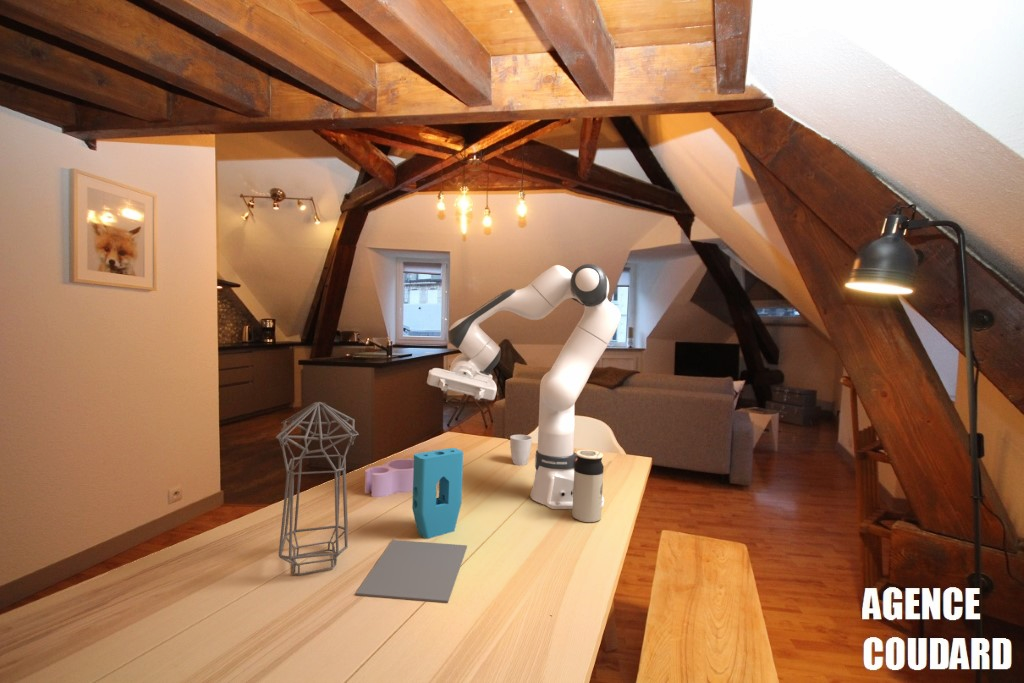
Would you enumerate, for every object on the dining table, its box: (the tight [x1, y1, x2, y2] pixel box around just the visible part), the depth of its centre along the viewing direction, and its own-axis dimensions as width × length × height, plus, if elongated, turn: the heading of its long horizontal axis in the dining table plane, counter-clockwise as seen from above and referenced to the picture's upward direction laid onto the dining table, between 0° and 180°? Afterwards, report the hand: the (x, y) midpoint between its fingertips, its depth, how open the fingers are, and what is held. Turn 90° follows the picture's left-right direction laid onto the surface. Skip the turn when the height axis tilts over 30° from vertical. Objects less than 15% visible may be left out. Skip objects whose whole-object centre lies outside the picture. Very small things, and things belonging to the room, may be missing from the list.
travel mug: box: [571, 449, 605, 523], centre depth 131 cm, size 8×8×18 cm
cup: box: [509, 434, 533, 466], centre depth 177 cm, size 8×8×10 cm
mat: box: [355, 539, 468, 604], centre depth 101 cm, size 18×22×1 cm
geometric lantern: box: [275, 401, 360, 577], centre depth 101 cm, size 16×16×35 cm
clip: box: [364, 457, 414, 498], centre depth 148 cm, size 20×12×7 cm, turn 138°
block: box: [411, 447, 464, 539], centre depth 118 cm, size 12×5×20 cm, turn 127°
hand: (461, 392), depth 130 cm, fingers open, 8 cm apart
